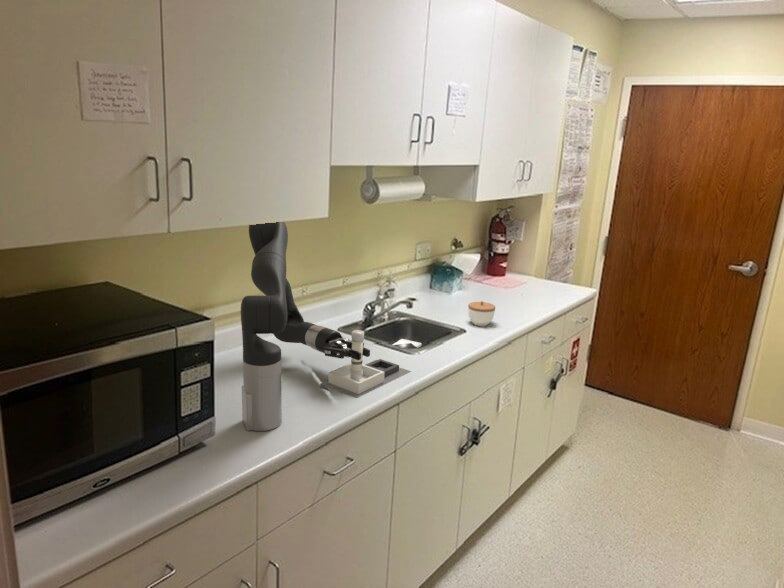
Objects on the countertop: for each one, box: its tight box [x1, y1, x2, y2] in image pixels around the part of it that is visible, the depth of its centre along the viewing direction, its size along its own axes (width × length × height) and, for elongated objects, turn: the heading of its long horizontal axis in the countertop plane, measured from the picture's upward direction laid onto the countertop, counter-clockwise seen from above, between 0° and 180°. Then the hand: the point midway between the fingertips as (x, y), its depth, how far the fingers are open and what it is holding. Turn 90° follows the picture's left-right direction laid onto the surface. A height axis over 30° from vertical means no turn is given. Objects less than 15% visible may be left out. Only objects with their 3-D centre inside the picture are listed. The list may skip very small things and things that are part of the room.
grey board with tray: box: [319, 358, 412, 399], centre depth 175 cm, size 26×14×4 cm, turn 143°
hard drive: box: [392, 338, 422, 349], centre depth 204 cm, size 2×8×12 cm
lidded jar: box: [467, 300, 496, 327], centre depth 234 cm, size 11×11×9 cm
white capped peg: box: [350, 329, 365, 380], centre depth 169 cm, size 4×4×14 cm
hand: (364, 354), depth 167 cm, fingers closed on white capped peg, 3 cm apart
